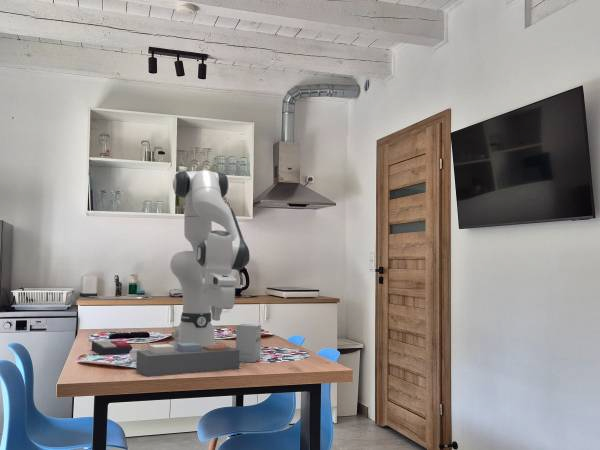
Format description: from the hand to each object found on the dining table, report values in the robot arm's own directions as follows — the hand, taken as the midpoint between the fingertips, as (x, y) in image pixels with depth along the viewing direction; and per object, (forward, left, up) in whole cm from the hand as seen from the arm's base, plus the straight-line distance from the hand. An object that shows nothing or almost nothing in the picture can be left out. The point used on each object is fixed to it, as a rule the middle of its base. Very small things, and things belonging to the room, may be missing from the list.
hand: (215, 320), depth 189 cm
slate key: (+2, -10, -11) cm, 15 cm away
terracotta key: (+2, -1, -13) cm, 13 cm away
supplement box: (-6, +15, -15) cm, 22 cm away
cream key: (+2, -19, -11) cm, 22 cm away
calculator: (-45, -23, -16) cm, 53 cm away
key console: (+2, -10, -15) cm, 18 cm away
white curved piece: (-19, -21, -16) cm, 33 cm away
